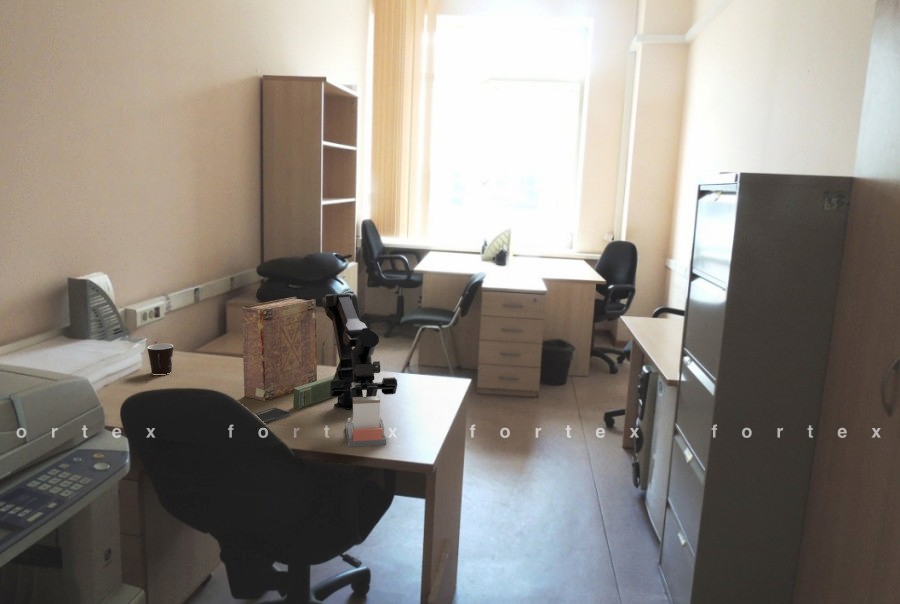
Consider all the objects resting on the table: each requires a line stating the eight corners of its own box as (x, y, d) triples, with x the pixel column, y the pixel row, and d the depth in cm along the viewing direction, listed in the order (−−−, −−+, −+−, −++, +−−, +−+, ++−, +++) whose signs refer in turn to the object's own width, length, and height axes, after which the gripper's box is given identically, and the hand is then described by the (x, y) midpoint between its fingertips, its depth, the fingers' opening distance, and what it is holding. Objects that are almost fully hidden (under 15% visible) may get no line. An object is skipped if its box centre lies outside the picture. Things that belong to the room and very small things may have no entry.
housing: (345, 428, 184) (345, 413, 183) (379, 426, 186) (380, 411, 185) (348, 446, 171) (348, 430, 170) (386, 444, 173) (386, 428, 172)
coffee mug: (157, 369, 236) (156, 343, 234) (179, 370, 235) (178, 344, 233) (138, 378, 225) (136, 350, 223) (161, 379, 223) (159, 352, 222)
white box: (352, 431, 176) (352, 397, 175) (378, 430, 178) (378, 396, 176) (353, 436, 173) (353, 401, 172) (379, 434, 175) (380, 399, 173)
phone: (233, 420, 185) (274, 407, 197) (234, 424, 185) (274, 410, 197) (251, 427, 181) (292, 412, 193) (251, 430, 181) (292, 416, 193)
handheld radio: (291, 407, 200) (346, 388, 221) (298, 410, 198) (353, 390, 219) (291, 387, 199) (346, 370, 219) (299, 389, 197) (354, 372, 218)
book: (297, 378, 230) (296, 296, 225) (317, 382, 226) (316, 299, 221) (244, 396, 208) (241, 306, 203) (264, 402, 204) (262, 310, 199)
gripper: (330, 352, 177) (332, 403, 168) (397, 350, 181) (402, 399, 172) (329, 371, 186) (331, 420, 177) (392, 369, 190) (397, 417, 181)
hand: (365, 414), depth 177 cm, fingers closed, pressing on white box
